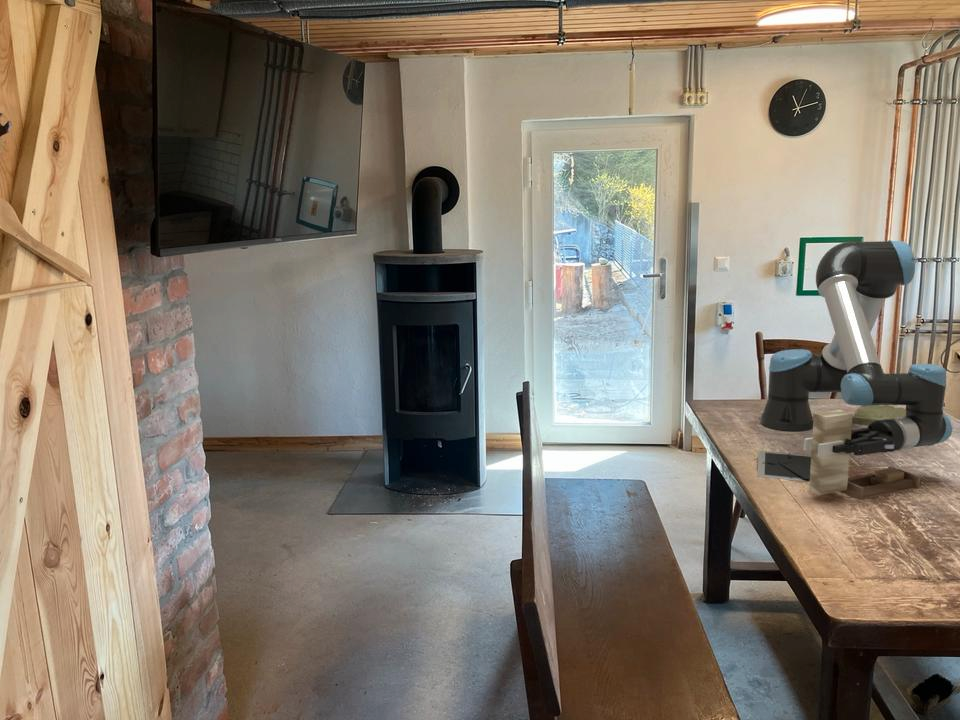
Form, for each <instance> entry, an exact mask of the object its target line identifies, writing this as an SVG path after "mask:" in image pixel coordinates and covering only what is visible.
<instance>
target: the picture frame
mask: <svg viewBox="0 0 960 720" xmlns="http://www.w3.org/2000/svg"><path fill="white" fill-rule="evenodd" d="M810 468H811V454H805V453H804V454H803V453H792V452H791V453H790V452H780V451H769V450H758V456H757V472H756V473H757V474H756V477H757V478H765V479H767V478H768V479H774V480H775V479H776V480H785V481H796V482H797V481H798V482H807V483H810Z"/></svg>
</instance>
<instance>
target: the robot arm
mask: <svg viewBox="0 0 960 720" xmlns="http://www.w3.org/2000/svg"><path fill="white" fill-rule="evenodd" d="M915 270H916V262H915V255H914V252H913V250H912V248H911V246H910V245H909V244H908V243H907V242H905V241H902V240H887V241H886V240H885V241H884V240H883V241H845V242H841V243H838V244H836V245H834V246H833V247H831V248H830V249H828V251H826V252H825V253H824V255H823V256H822V258H821V259H820V261H819V263H818V265H817V268H816V271H815V272H816V273H815V284H816V288H817V291H818V295H819V296H821V297H822V298H824V301H825V303H826V307H827V310H828V313H829V317H830V320H831V322H832V323H831V324H832V326H833V330H834V335H833V338H832V341H831V343H827V344H826V345H825V346H823V349H822V351H821V353H820V354H812V351H811V350H809V349H801V348H800V349H797V348H796V349H795V348H794V349H793V348H791V349H785V350H781V351H776V352H775V353H774V354H772V355H771V357H770V361H769V367H768V370H769V371H768V372H769V374H768V393H767V394H768V395H767V401H766V403H765V406H764V410H763V412H762V413H761V415H760V424H761V425H763V427H767V428H770V429H773V430H778V431H788V432H803V431H808V430H811V429H813V422H814V416H812V410H811V406H810V403H809V399H810V397H809V396H810V393H840V395H841V398H842V400H843V401H844V402H845V403H846V404H847V405H850V406H859V407H860V406H869V405H881V406H882V405H890V406H905V409H906V416H904V417H896V418H890V419H884V420H878V421H874V422H872V423H871V424H870V425H869V426H868V425H867V427H861V428H859V429H858V428H857V429H851V440H850V439H847V438H846V440H845V444H844V441H842V440H840V441H834V442H827V443H821V444H818V456H820V457H821V456H827V455H833V454H839V453H843V452H845V453H850V454H852V453H853V455H854V456H864V455H870V454H871V455H872V454H878V453H879V454H880V453H882V454H883V453H894V452H895V451H897V452H902V451H903V450H907V449H914V448H919V447H926V446H927V447H928V446H934V445H937V444H940V443H943V442H946V441H947V440H948V439H950V438H951V436H952V434H953V425H952V424H951V423H952V422H951V419H950V417H948V416H947V415H946V414H945V413H944V404H945V403H944V402H945V397H946V390H947V389H946V388H947V371H946V369H945V367H943V366H941V365H939V364H935V363H933V364H932V363H914V364H911V365H910V366H909V369H908V370H907V373H903V372H901V373H896V372H895V373H887V372H886V373H885V372H884V369H883V368H882V367H883V366H882V364H881V361H880V358H879V356H878V355H879V354H878V352H877V349H876V346H875V343H874V340H873V337H872V333H871V332H872V331H873V328H874V326H875V324H876V321H877V319H878V317H879V315H880V312H881V310H882V308H883V306H884V303H885V301H886V299H889V298H891V297H893V296H894V295H895V294H896V292H897V290H898V287H899V286H905V285H908V284H909V285H910V283H911V282H912V281H913V280H914V277H915V276H914V275H915V272H916V271H915ZM802 446H803V448H802V449H803V451H805V452H808V451H812V437H806V438H804V439H803V445H802Z"/></svg>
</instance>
